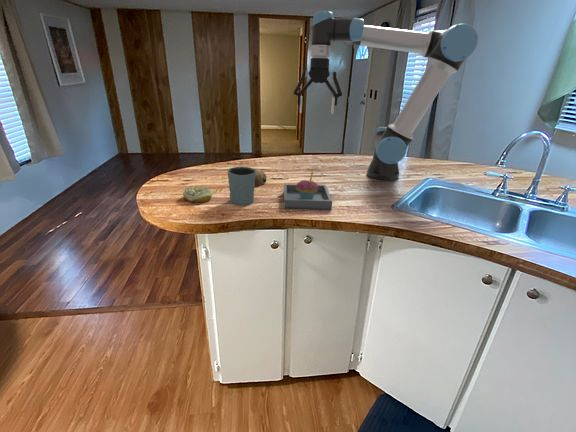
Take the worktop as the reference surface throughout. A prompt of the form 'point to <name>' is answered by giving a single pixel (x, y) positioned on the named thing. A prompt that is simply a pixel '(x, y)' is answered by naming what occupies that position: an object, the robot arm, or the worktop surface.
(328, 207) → the serving tray
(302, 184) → the cupcake
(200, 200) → the decorated donut
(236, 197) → the grey cup
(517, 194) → the worktop surface
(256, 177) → the bread roll
